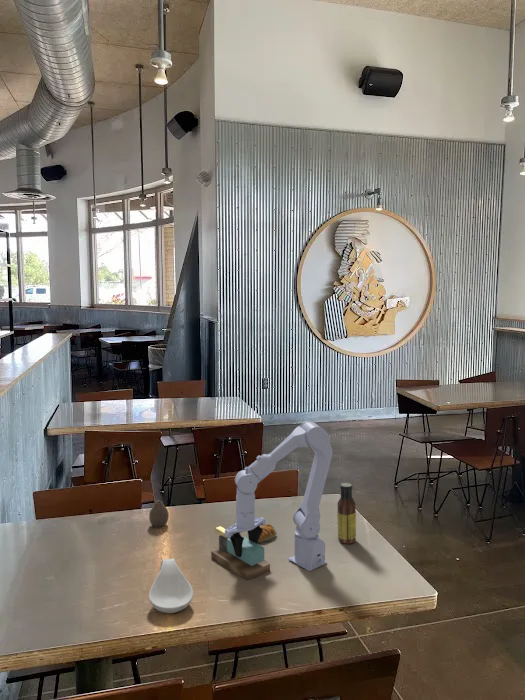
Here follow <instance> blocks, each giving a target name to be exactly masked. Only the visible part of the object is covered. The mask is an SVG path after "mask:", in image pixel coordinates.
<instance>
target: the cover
mask: <svg viewBox="0 0 525 700" xmlns="http://www.w3.org/2000/svg"><path fill="white" fill-rule="evenodd" d="M241 536H242V537H244V540H243V544H242V555H241V557H238V558H239V559H241V560H243V561H244V562H246V563H248V564H249V565H251V566H252V565H255V564H257V563H259V562H262V561H265V547H264V546H263V545H260V544H259V543H257V544H256V543H255V542H253V541H251V540H249V538H247V537H245V536H243V535H242V534H241ZM227 552H229V553H231V554H233V555H234V556H236V555H235V551H234V547H233V545H232V542H231V540H230V538H228V539H227ZM236 557H237V556H236Z"/></svg>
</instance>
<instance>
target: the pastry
mask: <svg viewBox="0 0 525 700" xmlns="http://www.w3.org/2000/svg"><path fill="white" fill-rule="evenodd" d="M260 528H262V529H263V532H262V534H261V535H260V537H259V539H258V542H257V543H258V544H259V543H261V544H262V543H263V542H264V543H265V542H269V541H270V540H271V539H273V538H275V537H276V536H277V531H276V529H275V527H274V526H273V525H272V524H270V523H265V525H263V526H262V525H260Z"/></svg>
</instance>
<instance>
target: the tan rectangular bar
mask: <svg viewBox="0 0 525 700" xmlns="http://www.w3.org/2000/svg"><path fill="white" fill-rule="evenodd" d="M226 529H227V528H226ZM226 529H225V528H224V527H223V526H221V525H220V526H217V527H215V528H214V532H215V534H217V535H218V536H220V535H221V536H222V537H224V538H226V539H227V538H228V537H226V536H225V530H226Z"/></svg>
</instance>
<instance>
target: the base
mask: <svg viewBox="0 0 525 700" xmlns="http://www.w3.org/2000/svg"><path fill="white" fill-rule="evenodd" d="M227 539H228V538H227ZM227 539H226V538H224V537H222V536H221V535H218V548H217V549H215V550H212V551H211V552H210V555H211V558H212V560H213V559H214V560H215V561H216V562H218V563H220V564H221V565H222V566H224V567H226V568H228V570H231V571H232V572H234V573H235V574H237V575H238V576H240V577H242V578H243V579H245V580H246V581H248V580H251V579H253V578H255V577H258V576H260V575H262V574H265V573H267V572H269V571H271V563H269V562H268V561H266V560H264V561H262V562H259V563H257V564H255V565H252V566H251V565H249V564H248V563H246V562H244V561H243V560H241V559H239V558H238V557H236V556H234V555H233V554H231V553H229V552H227Z"/></svg>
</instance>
